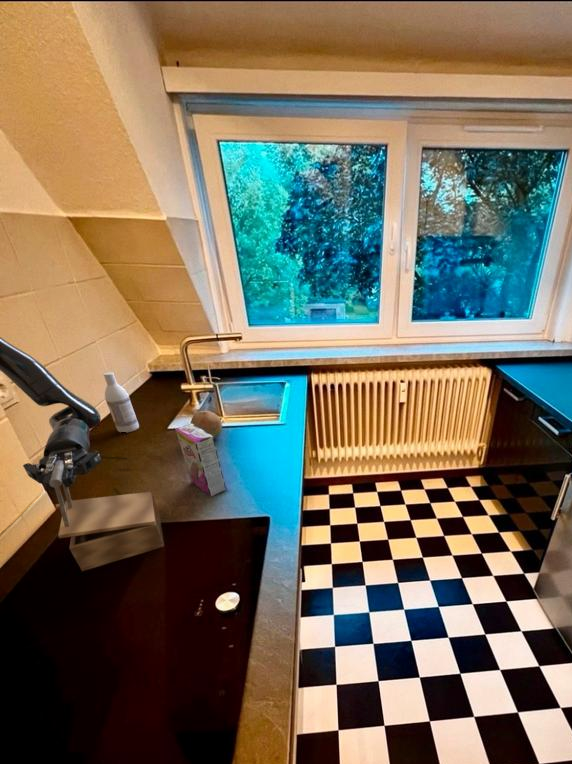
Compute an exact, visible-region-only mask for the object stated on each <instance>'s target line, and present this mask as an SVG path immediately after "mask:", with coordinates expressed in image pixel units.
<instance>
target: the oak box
mask: <svg viewBox="0 0 572 764" xmlns="http://www.w3.org/2000/svg"><path fill="white" fill-rule="evenodd" d="M152 501H153V509H154V517H155V524H153V525H146V526H139V527H133V528H126V529H119V530H112V531H106V532H99V533H92V534H85V535H79V536H72V537H70V541H69V547H68V548H69V551H70V552H71V554H72V556H73V558H74V560H75V561H76V563H77V565H78V566H79V569H80V570H81V572H84V571H89V570H91V569H94V568H97V567H101V566H104V565H108V564H111V563H115V562H117V561H120V560H124V559H127V558H130V557H134V556H138V555H141V554H144V553H147V552H151V551H155V550H157V549H160V548H161V549H162V548H164V547H165V541H164V535H163V527H162V521H161V514H160V511H159V510H158V507H157V503H156V502H155V499H154V495H152Z"/></svg>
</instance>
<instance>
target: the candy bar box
mask: <svg viewBox="0 0 572 764" xmlns="http://www.w3.org/2000/svg"><path fill="white" fill-rule="evenodd" d="M174 431H175V434H176V436H177V440H178V443H179V447H180V450H181V452H182V453H181V454H182V455H183V460H184V463H185V466H186V469H187V473H188V476H189V479H190V482H191V483H193V484H194V485H195V486H197V487H198V488H199V489H200V490H202V491H203V492H204V493H205V494H206V495H208V496H209V497H210V498H212V497H214V496H216V495H218V494H220V493H223V492H224V491H226V490H227V487H226V482H225V478H224V474H223V471H222V468H221V461H220V458H219V455H218V451H217V447H216V443H215V439H214V438H213V436H212V435H210V434H208V433H207V432H205V431H204V430H202V429H200V428H199V427H197V426H195V425H194V424H191V423H189V424H185V425H183V426H179V427H176V428H175V429H174Z"/></svg>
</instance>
